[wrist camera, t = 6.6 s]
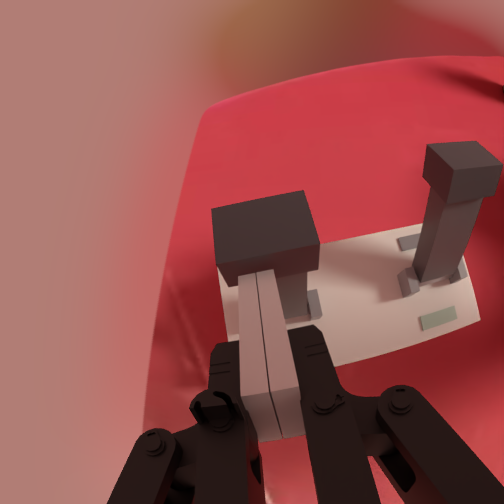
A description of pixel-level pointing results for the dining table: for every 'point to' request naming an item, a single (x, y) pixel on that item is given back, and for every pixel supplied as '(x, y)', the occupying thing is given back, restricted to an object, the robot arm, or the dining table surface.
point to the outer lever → (269, 244)
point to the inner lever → (452, 203)
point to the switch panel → (374, 297)
